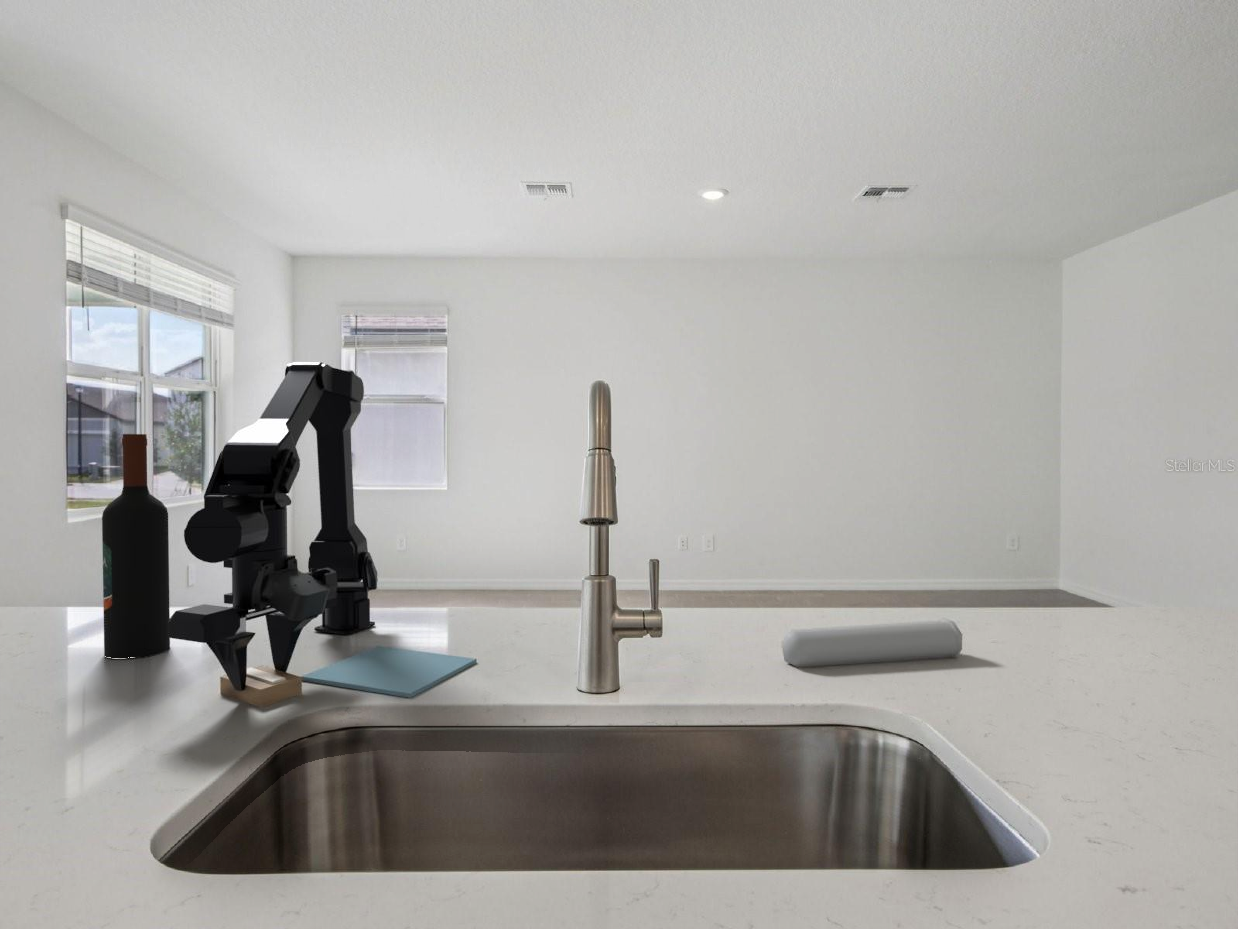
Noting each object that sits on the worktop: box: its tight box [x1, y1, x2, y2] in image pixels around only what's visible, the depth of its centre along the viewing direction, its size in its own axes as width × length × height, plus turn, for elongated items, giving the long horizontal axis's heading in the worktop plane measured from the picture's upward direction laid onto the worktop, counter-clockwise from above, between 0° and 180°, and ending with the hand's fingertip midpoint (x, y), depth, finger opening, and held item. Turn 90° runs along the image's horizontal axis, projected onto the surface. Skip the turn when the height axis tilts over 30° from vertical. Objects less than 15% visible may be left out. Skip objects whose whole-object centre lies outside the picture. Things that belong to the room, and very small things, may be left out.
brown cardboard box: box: [219, 664, 303, 708], centre depth 82 cm, size 8×5×2 cm, turn 58°
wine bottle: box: [101, 433, 171, 658], centre depth 98 cm, size 8×8×30 cm
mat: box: [300, 645, 477, 699], centre depth 90 cm, size 16×14×1 cm
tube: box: [780, 617, 963, 668], centre depth 97 cm, size 5×5×25 cm
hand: (261, 682), depth 82 cm, fingers closed on brown cardboard box, 5 cm apart
